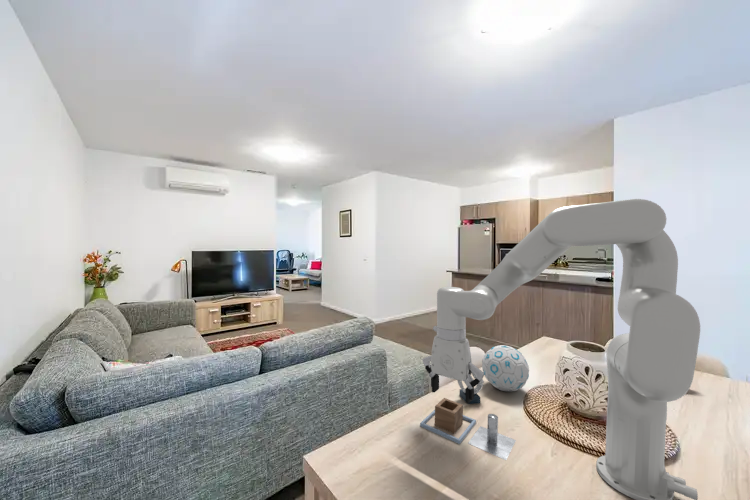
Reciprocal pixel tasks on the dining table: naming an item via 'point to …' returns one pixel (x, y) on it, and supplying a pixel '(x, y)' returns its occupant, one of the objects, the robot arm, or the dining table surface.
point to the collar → (449, 415)
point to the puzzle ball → (505, 368)
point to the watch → (476, 390)
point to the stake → (492, 439)
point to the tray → (424, 425)
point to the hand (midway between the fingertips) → (451, 395)
